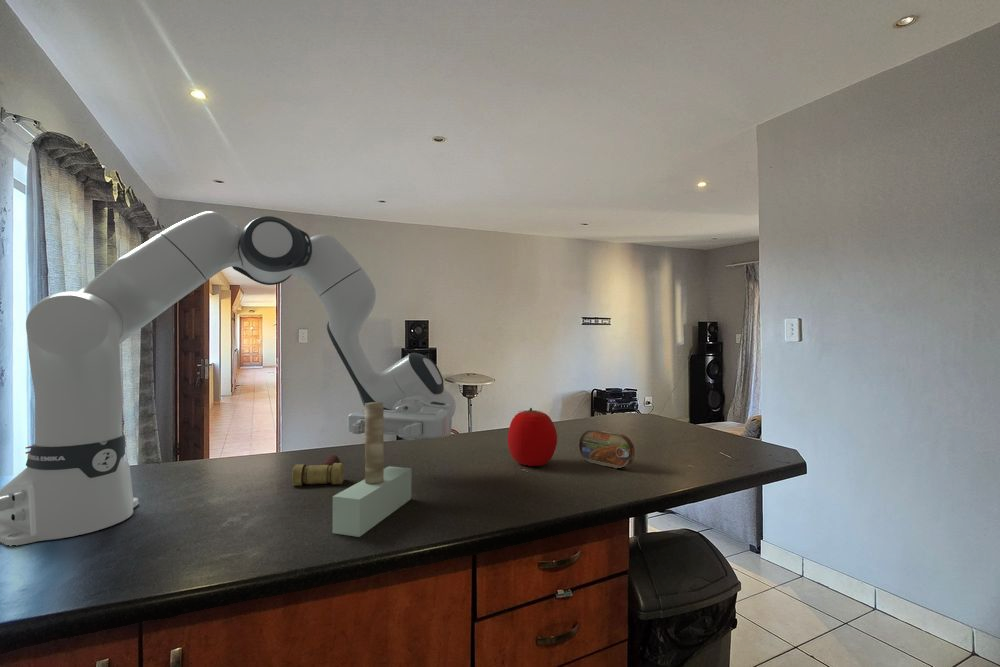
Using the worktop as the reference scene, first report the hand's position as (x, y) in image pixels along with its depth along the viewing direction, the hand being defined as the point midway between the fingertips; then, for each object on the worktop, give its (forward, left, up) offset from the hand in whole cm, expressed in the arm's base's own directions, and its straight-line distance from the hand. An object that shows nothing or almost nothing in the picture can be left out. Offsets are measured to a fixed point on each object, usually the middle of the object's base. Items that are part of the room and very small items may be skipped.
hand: (377, 431), depth 84 cm
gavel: (-25, +19, -16) cm, 35 cm away
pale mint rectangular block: (0, 0, -15) cm, 15 cm away
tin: (+38, +45, -15) cm, 61 cm away
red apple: (+20, +40, -15) cm, 47 cm away
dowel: (0, -1, -9) cm, 9 cm away
